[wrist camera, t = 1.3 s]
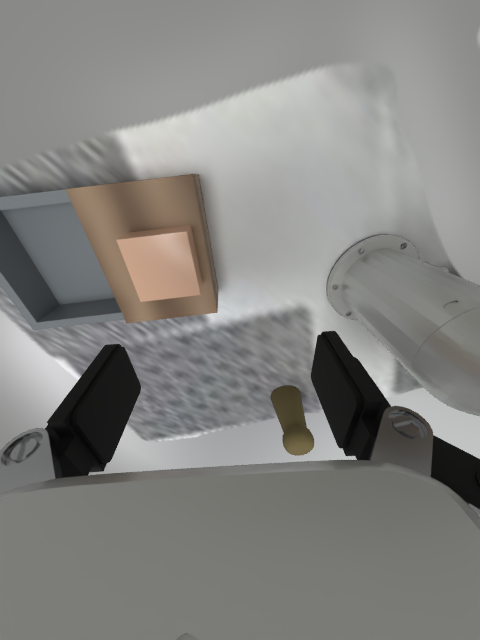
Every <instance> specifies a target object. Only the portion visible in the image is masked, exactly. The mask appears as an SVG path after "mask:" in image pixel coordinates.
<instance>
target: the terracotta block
mask: <svg viewBox="0 0 480 640" xmlns="http://www.w3.org/2000/svg"><path fill="white" fill-rule="evenodd" d="M116 241H117V243H118V246H119V248H120V251H121V253H122V256H123V259H124V261H125V264H126V266H127V269H128V271H129V274H130V276H131V279H132V282H133V284H134V287H135V289H136V292H137V294H138V297H139V299H140V302H145V301H153V300H162V299H170V298H179V297H187V296H196V295H201V290H202V284H203V281H202V277H201V272H200V267H199V262H198V257H197V252H196V247H195V243H194V238H193V233H192V228H191V225H187V226H179V227H170V228H162V229H153V230H145V231H136V232H129V233H127V234H125V235H124V236H122V237H120V238H119V239H117V240H116Z"/></svg>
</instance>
